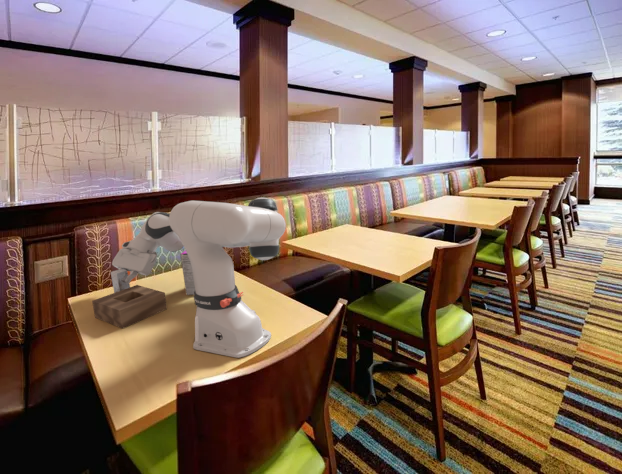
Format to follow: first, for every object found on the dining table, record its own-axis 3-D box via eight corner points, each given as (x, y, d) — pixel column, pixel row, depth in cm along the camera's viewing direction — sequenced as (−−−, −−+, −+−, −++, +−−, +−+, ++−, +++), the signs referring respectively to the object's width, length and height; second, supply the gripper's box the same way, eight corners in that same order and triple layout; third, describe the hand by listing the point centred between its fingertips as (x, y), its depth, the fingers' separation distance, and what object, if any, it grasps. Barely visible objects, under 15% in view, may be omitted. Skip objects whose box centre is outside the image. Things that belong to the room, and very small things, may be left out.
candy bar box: (194, 284, 148) (189, 245, 144) (206, 284, 147) (202, 245, 144) (185, 295, 137) (179, 253, 133) (198, 295, 137) (193, 253, 133)
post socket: (167, 308, 126) (164, 292, 124) (122, 328, 113) (119, 310, 111) (139, 300, 134) (137, 284, 133) (95, 317, 121) (91, 300, 120)
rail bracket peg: (131, 295, 137) (127, 270, 134) (121, 299, 133) (116, 273, 131) (125, 293, 139) (121, 268, 136) (115, 297, 136) (110, 272, 133)
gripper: (164, 256, 138) (145, 289, 132) (133, 250, 148) (113, 280, 143) (152, 248, 133) (131, 282, 127) (120, 242, 144) (100, 273, 138)
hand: (121, 281), depth 135 cm, fingers closed on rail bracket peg, 4 cm apart
